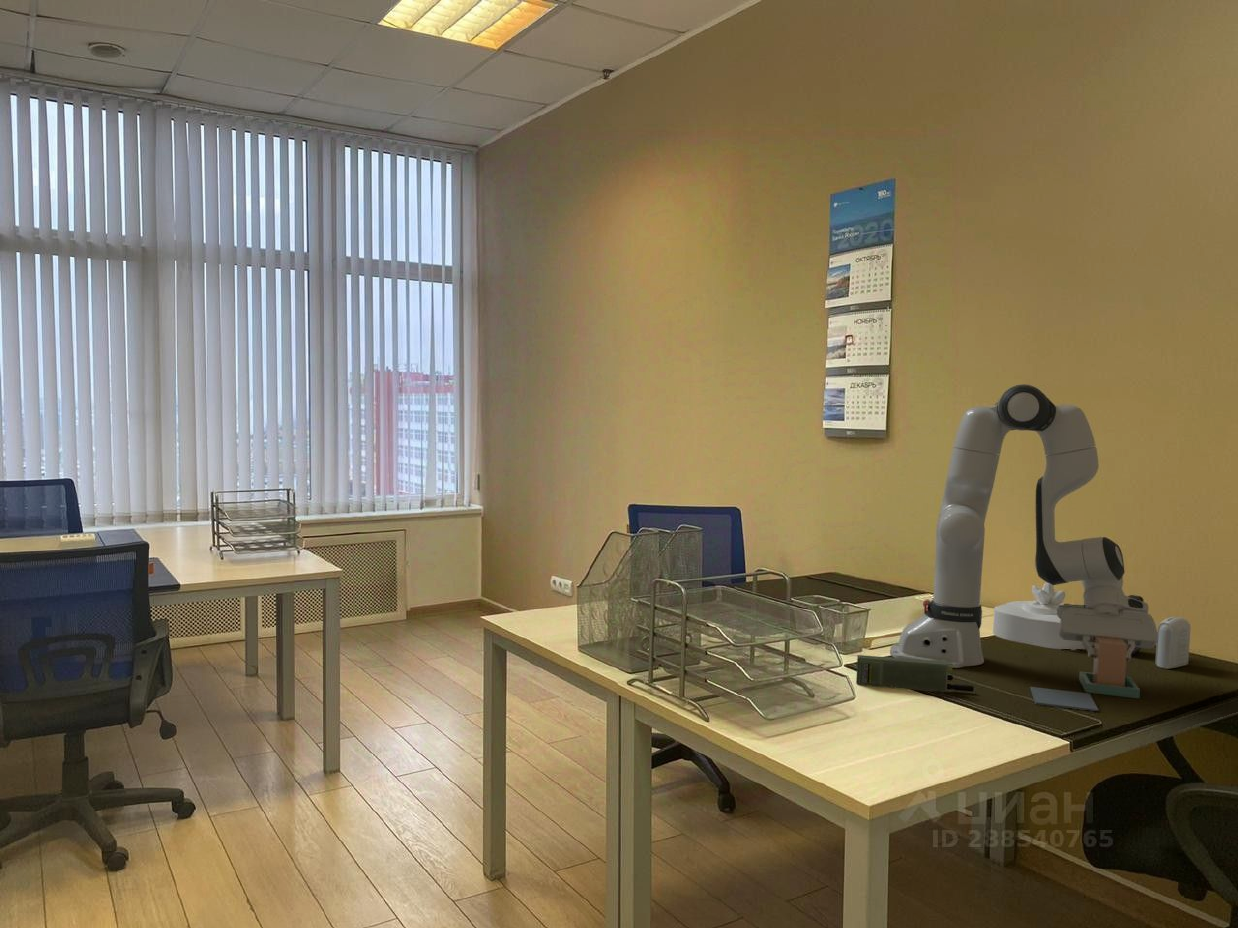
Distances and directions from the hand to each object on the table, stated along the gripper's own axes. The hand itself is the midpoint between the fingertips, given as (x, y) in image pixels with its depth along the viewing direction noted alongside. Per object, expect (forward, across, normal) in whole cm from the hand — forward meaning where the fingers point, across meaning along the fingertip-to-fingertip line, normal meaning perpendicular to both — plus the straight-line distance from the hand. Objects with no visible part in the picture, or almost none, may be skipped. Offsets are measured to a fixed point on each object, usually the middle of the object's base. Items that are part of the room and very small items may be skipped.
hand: (1109, 658), depth 208 cm
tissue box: (-29, -8, +40) cm, 50 cm away
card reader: (-22, +11, +32) cm, 41 cm away
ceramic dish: (+5, 0, +5) cm, 7 cm away
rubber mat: (+15, -11, -5) cm, 19 cm away
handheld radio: (+19, -42, -8) cm, 47 cm away
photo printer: (-16, +19, +26) cm, 36 cm away
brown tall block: (+5, 0, +5) cm, 7 cm away
